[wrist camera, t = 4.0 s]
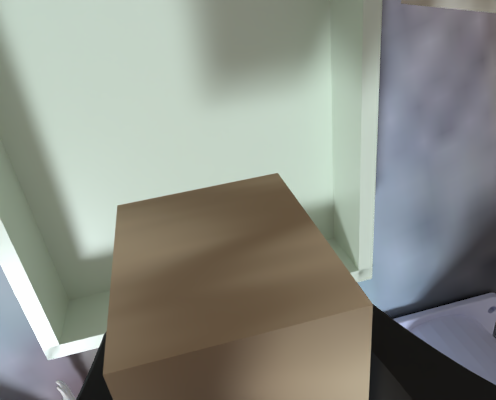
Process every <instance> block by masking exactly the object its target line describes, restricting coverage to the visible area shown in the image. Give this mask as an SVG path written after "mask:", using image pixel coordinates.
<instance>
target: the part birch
mask: <svg viewBox="0 0 496 400" xmlns="http://www.w3.org/2000/svg"><path fill="white" fill-rule="evenodd" d="M401 4H410V5H420V6H430V7H440V8H450V9H460V10H470V11H479V12H489V13H496V0H401Z"/></svg>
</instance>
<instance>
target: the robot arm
mask: <svg viewBox="0 0 496 400" xmlns="http://www.w3.org/2000/svg"><path fill="white" fill-rule="evenodd" d="M495 322H496V293H488V294H484V295H480V296H477V297H473V298H469V299H465V300H462V301H458V302H454V303H451V304H447V305H443V306H439V307H436V308H432V309H428V310H425V311H421V312H417V313H413V314H410V315H406V316H402V317H399V318H395V319H392V318H390V317H389V316H388V315H386V314H385V313H384V312H382V311H381V310H380V309H378V308H377V307H376V306H375V305H373V314H372V337H371V359H370V382H369V400H496V339H495V338H494V337H493V336H492V335H493V331H494V327H495ZM106 332H107V331H106ZM105 343H106V333H105V334H104V336H103V339H102V341H101V344H100V346H99V349H98V351H97V354H96V356H95V359H94V361H93V363H92V366H91V368H90V370H89V373H88V375H87V377H86V379H85V382H84V384H83V386H82V388H81V391H80V393H79V395H78V397H77V399H76V400H113V398H112V396H111V394H110V391H109V389H108V386H107V384H106V381H105V379H104V377H103V367H104V355H105Z"/></svg>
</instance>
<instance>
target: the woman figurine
mask: <svg viewBox="0 0 496 400" xmlns="http://www.w3.org/2000/svg"><path fill="white" fill-rule="evenodd" d="M56 383H57V384H58V385H59V386H60V387H59V386H58V387H56V388H57V389H58V390H59V391H60V392H61V394H62V396H63V398H62V400H76V398H75V397H74V396H73V394H72V392H71V391H70V389H69V387H68V386H67V385H66V384H65V383H64V382H63V381H60V380H58V381H56Z"/></svg>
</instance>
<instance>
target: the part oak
mask: <svg viewBox="0 0 496 400" xmlns="http://www.w3.org/2000/svg"><path fill="white" fill-rule="evenodd" d="M372 314H373V304H372V303H371V301H370V300H369V299H368V297H367V296H366V294H365V293H364V292H363V290H362V289H361V287H360V286H359V285H358V283H357V282H356V281H355V279H354V278H353V276H352V275H351V274H350V272H349V271H348V269H347V268H346V267H345V265H344V264H343V262H342V261H341V260H340V258H339V257H338V256H337V254H336V253H335V251H334V250H333V249H332V247H331V246H330V244H329V243H328V242H327V240H326V239H325V238H324V236H323V235H322V233H321V232H320V231H319V229H318V228H317V226H316V225H315V224H314V222H313V221H312V220H311V218H310V217H309V215H308V214H307V213H306V211H305V210H304V208H303V207H302V206H301V204H300V203H299V202H298V200H297V199H296V197H295V196H294V195H293V193H292V192H291V190H290V189H289V188H288V186H287V185H286V183H285V182H284V181H283V179H282V178H281V177H280V175H279V174H278V173H275V174H270V175H265V176H260V177H255V178H250V179H245V180H240V181H235V182H230V183H225V184H220V185H215V186H211V187H206V188H201V189H196V190H191V191H186V192H181V193H176V194H171V195H166V196H161V197H156V198H151V199H147V200H142V201H137V202H132V203H127V204H122V205H117V215H116V227H115V238H114V250H113V262H112V273H111V285H110V297H109V308H108V320H107V332H106V343H105V355H104V367H103V377H104V379H105V381H106V384H107V386H108V389H109V391H110V394H111V396H112V398H113V400H369V382H370V359H371V337H372Z"/></svg>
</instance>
